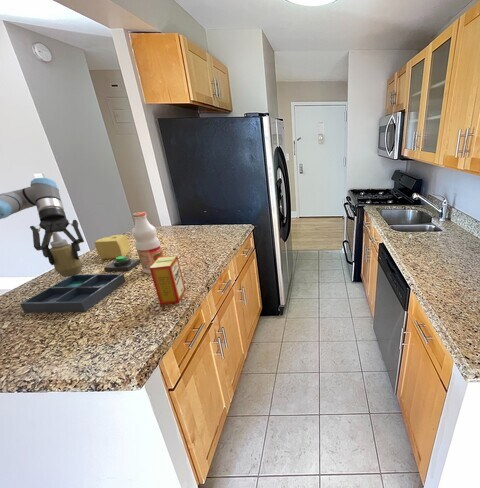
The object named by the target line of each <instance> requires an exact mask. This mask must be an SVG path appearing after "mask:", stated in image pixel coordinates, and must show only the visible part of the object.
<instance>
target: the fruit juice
mask: <svg viewBox="0 0 480 488" xmlns="http://www.w3.org/2000/svg"><path fill="white" fill-rule="evenodd" d="M147 215H148V214H147V212H146V211H138V212H134V213H132V217H133V218H134V227H133V229H132V232H131V234H132V237H133V238H134V239H135V243H134V244H135V245H134V246H135V249H136V253H137V255H138V259H140V262H141V263H140V265H141V269H142V271H143V273H144V274H147V275H151V271H150V267H151V266H152V265H153V264H154V263H155V261H156V260H157V259H158V258H159V257H165V256H164V253H163V249H162V245H161V241H160V240H159V239H160V238H159V237H158V235H157V233H158V231H157V227H155V226H154V225H153V224H151V222H150V221H149V220H148V218H147Z"/></svg>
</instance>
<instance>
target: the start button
mask: <svg viewBox="0 0 480 488" xmlns="http://www.w3.org/2000/svg"><path fill="white" fill-rule="evenodd" d="M125 257H126V255H124V256H119V257H117V258H115V259H116V260H117V262H121V261H124V260H126V258H125Z"/></svg>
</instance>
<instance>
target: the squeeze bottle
mask: <svg viewBox="0 0 480 488" xmlns="http://www.w3.org/2000/svg"><path fill="white" fill-rule="evenodd" d="M49 245H50V246H51V247H49V250H50V253H51V256H52V259H53V261H54V265H53V267H54V271H55V272H57V273H58V274H59V275H60V276H61V277H63V278H67V277H69V276H74V275H76V274H81V273H82V270H83V269H82V267H83V264H82V261H81V259H80V258H79V260H77V259H76V258H75V255H74V252H73V248H72V245H71V243H68V240H67V239H66V238H62V237H61V236H60V234H59V232H53V233H52V241H50V243H49Z"/></svg>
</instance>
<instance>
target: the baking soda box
mask: <svg viewBox="0 0 480 488" xmlns="http://www.w3.org/2000/svg"><path fill="white" fill-rule="evenodd" d="M150 271H151V274H150V275H151V277H152V282H153V285H154V288H155V292H156V296H157V298H158V303H159V306H163V305H171V304H179V303H180V301H181V299H182V298H183V296H184V294H185V292H186V286H185V285H186V284H185V281H184V277H183V273H182V269H181V264H180V260H179V256H178V255H168V256H167V255H166V256H164V257H159V258H158V259H157V260H156V261H155V263H154V264H153V265H152V266H151V267H150Z"/></svg>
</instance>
